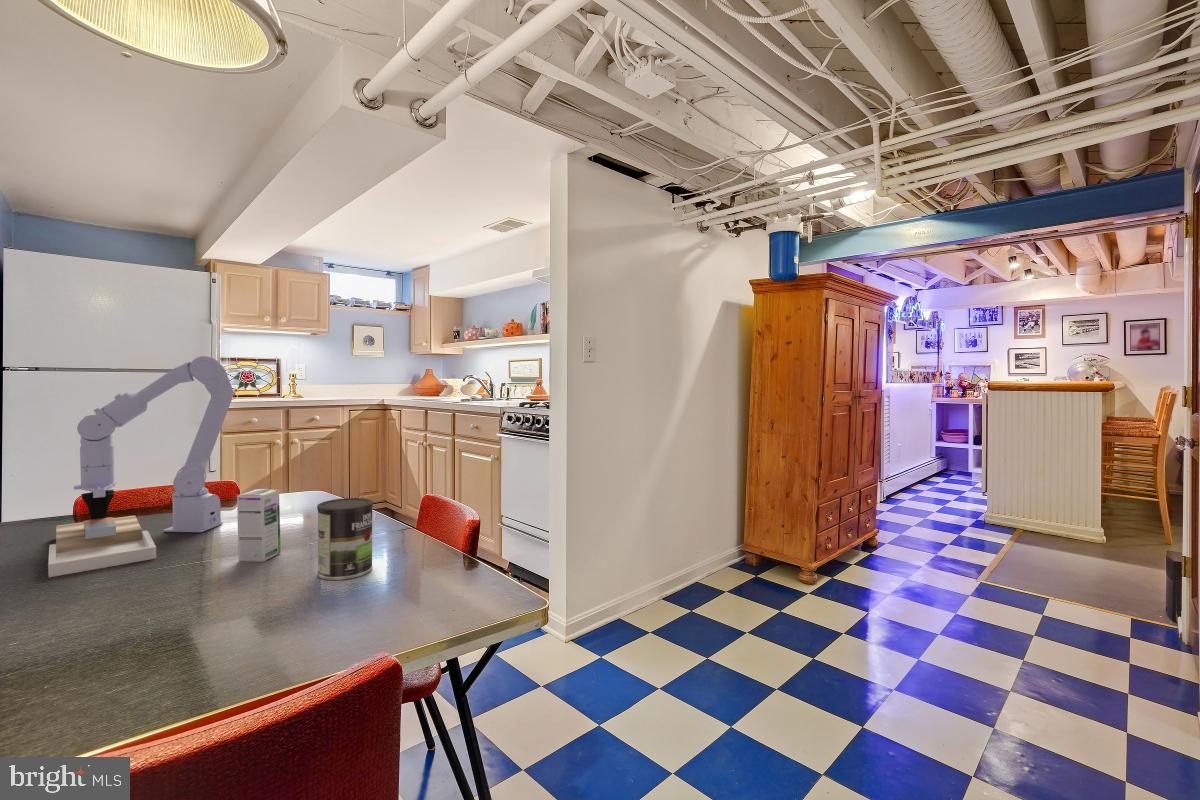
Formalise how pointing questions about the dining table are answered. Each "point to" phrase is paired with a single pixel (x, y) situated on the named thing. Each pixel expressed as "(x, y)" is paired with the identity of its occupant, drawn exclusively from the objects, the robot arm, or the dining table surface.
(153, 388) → the robot arm
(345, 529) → the coffee can
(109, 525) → the slate tile
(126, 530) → the birch board
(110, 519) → the terracotta tile
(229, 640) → the dining table surface
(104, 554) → the tray
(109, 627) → the dining table surface
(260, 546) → the syrup box
